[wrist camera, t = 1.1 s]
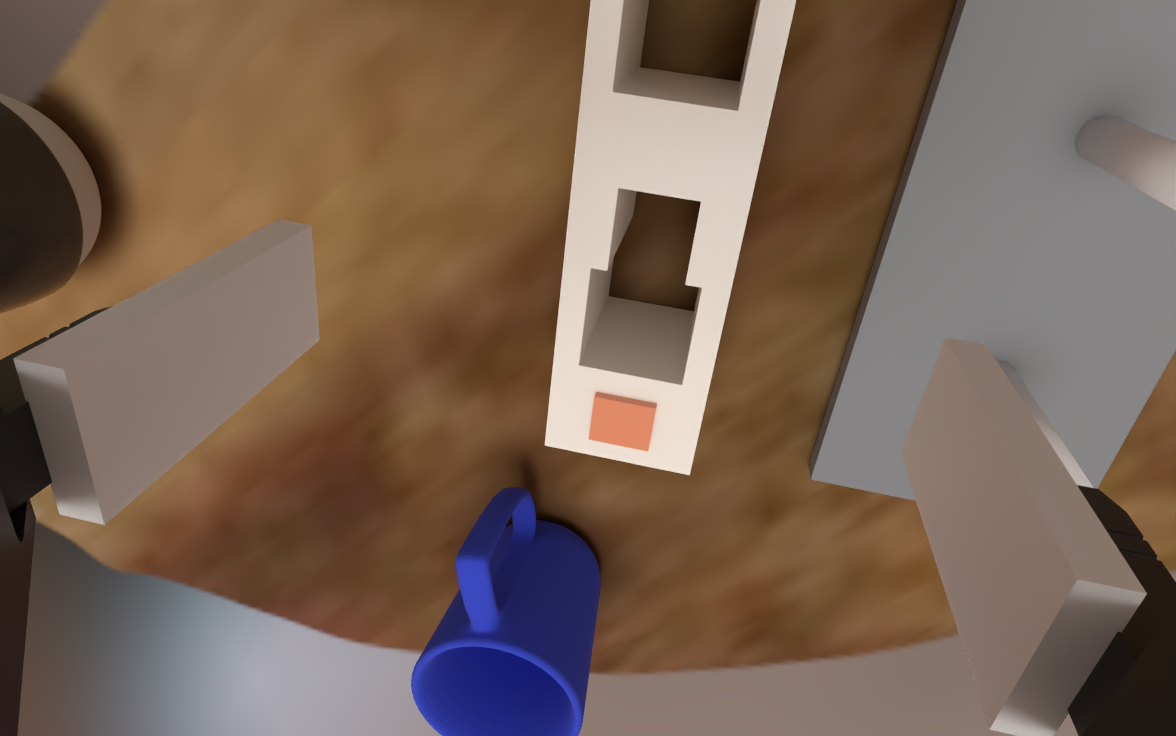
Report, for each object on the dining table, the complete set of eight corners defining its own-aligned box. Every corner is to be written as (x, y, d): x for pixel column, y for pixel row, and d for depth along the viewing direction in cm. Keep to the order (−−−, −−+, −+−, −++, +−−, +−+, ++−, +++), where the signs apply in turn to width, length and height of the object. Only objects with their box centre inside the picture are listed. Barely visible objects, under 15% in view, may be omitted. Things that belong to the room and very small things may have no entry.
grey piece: (991, -107, 25) (1117, -147, 17) (1380, -62, 24) (1736, -80, 15) (808, 465, 37) (827, 615, 28) (1063, 516, 36) (1163, 690, 27)
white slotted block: (645, -182, 26) (611, -231, 20) (819, -163, 25) (843, -208, 19) (578, 366, 37) (542, 450, 30) (699, 390, 36) (689, 481, 30)
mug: (599, 442, 39) (556, 579, 30) (622, 614, 44) (591, 772, 35) (451, 441, 40) (370, 570, 32) (490, 607, 46) (430, 756, 37)
